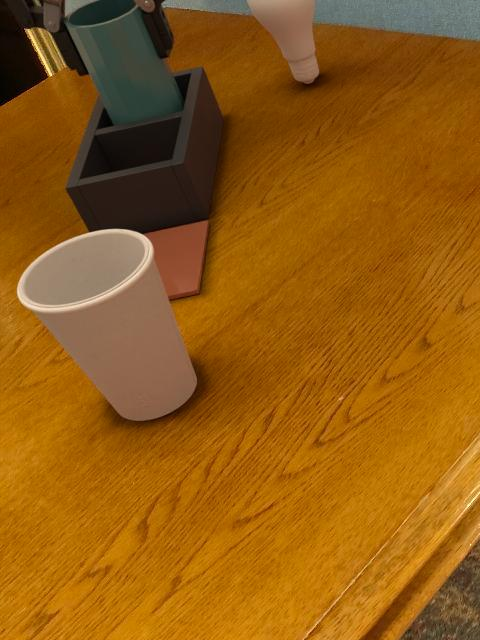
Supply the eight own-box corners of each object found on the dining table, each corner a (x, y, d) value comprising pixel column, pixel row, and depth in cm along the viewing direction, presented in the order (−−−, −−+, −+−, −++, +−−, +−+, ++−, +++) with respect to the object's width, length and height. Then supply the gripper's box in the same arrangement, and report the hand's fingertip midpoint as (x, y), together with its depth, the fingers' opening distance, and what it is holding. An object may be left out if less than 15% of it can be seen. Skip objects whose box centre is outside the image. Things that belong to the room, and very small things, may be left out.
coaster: (69, 321, 75) (67, 317, 75) (91, 249, 82) (88, 245, 82) (199, 293, 75) (197, 289, 75) (209, 224, 82) (208, 219, 81)
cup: (114, 151, 87) (57, 33, 80) (125, 118, 91) (71, 3, 84) (186, 137, 87) (135, 17, 80) (193, 104, 91) (145, -12, 84)
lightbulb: (285, 72, 99) (244, -48, 91) (344, 64, 98) (308, -59, 90) (273, 101, 95) (228, -22, 87) (334, 92, 94) (295, -33, 86)
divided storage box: (95, 243, 82) (64, 188, 79) (125, 140, 95) (100, 88, 91) (208, 218, 82) (183, 162, 79) (224, 118, 94) (202, 65, 91)
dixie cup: (109, 363, 71) (35, 240, 63) (224, 344, 70) (162, 217, 63) (83, 444, 65) (-2, 319, 58) (206, 423, 65) (137, 294, 57)
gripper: (125, -201, 75) (212, 29, 87) (-61, -161, 75) (52, 62, 88) (110, -176, 70) (204, 64, 82) (-89, -133, 70) (35, 100, 83)
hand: (125, 62), depth 85 cm, fingers closed on cup, 6 cm apart
